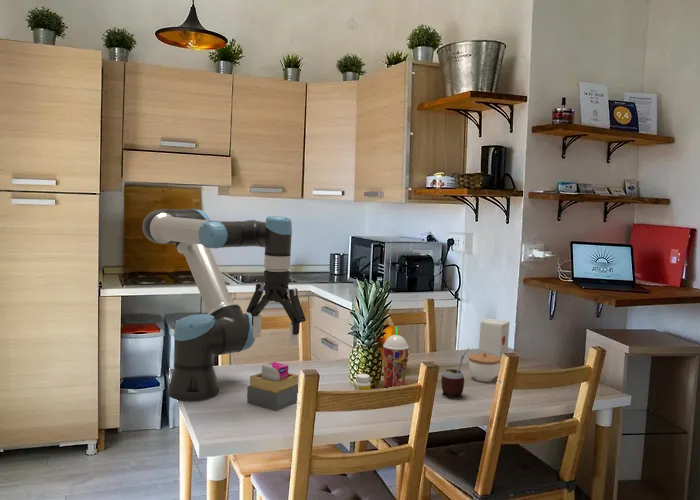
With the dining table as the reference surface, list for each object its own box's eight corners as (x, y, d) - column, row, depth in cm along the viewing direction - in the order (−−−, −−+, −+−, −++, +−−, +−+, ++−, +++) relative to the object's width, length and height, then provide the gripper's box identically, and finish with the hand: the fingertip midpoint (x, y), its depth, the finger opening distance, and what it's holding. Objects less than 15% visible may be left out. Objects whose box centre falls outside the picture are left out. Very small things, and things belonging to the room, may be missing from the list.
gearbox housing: (247, 402, 185) (247, 376, 184) (271, 393, 194) (271, 368, 194) (276, 411, 179) (277, 383, 178) (299, 401, 188) (300, 375, 188)
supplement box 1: (274, 407, 182) (275, 369, 181) (259, 403, 185) (260, 365, 184) (287, 402, 187) (288, 364, 186) (272, 398, 190) (273, 361, 189)
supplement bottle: (373, 403, 189) (374, 376, 188) (362, 406, 186) (363, 379, 185) (361, 399, 192) (362, 372, 192) (350, 402, 189) (351, 375, 188)
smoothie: (407, 391, 202) (410, 330, 200) (381, 390, 202) (384, 329, 200) (406, 383, 210) (408, 324, 208) (380, 382, 210) (383, 323, 208)
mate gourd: (438, 397, 197) (440, 350, 195) (444, 390, 204) (446, 345, 203) (462, 401, 194) (464, 353, 193) (467, 394, 201) (469, 348, 200)
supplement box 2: (499, 363, 241) (502, 324, 239) (477, 359, 245) (479, 321, 244) (507, 358, 248) (510, 321, 247) (486, 354, 253) (488, 317, 252)
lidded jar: (464, 380, 216) (466, 354, 215) (471, 373, 226) (472, 347, 225) (496, 385, 212) (498, 358, 211) (501, 377, 222) (502, 351, 221)
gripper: (319, 273, 180) (316, 346, 182) (253, 264, 193) (250, 332, 195) (303, 276, 173) (300, 351, 176) (236, 266, 187) (234, 336, 189)
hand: (274, 341), depth 185 cm, fingers open, 13 cm apart
